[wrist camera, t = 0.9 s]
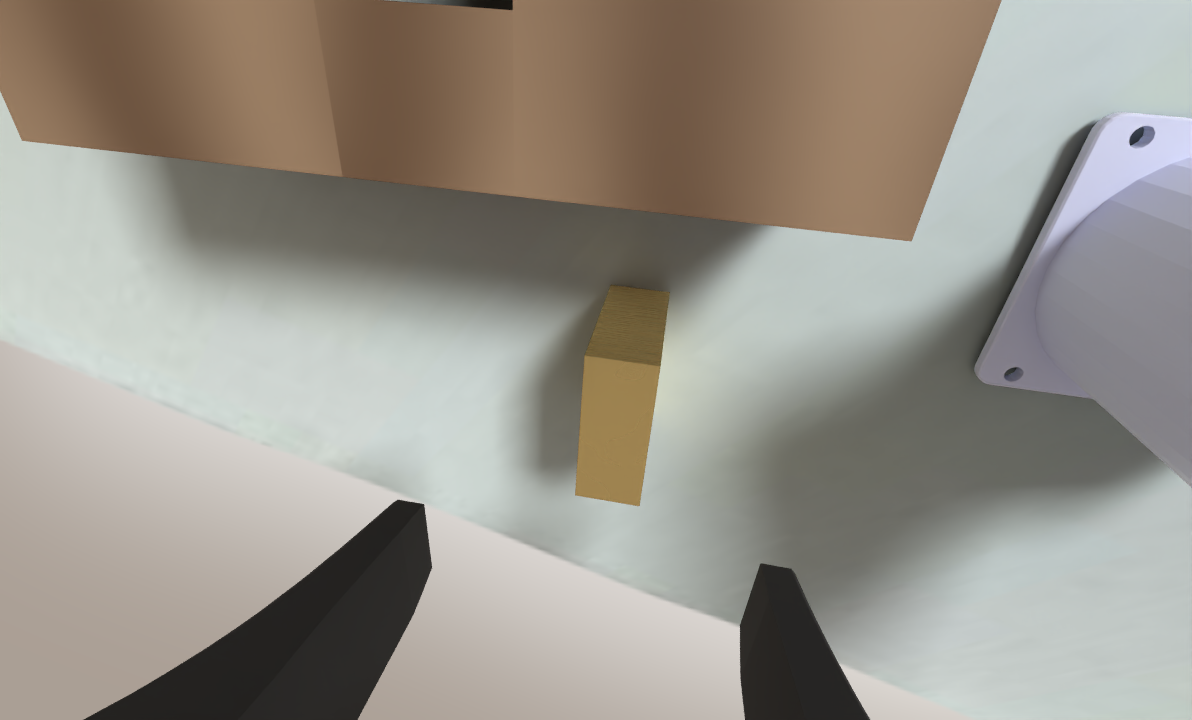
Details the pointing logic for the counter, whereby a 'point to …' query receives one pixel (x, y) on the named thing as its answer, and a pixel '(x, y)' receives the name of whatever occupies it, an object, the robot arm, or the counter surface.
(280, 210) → the counter surface
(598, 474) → the block
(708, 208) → the coin box
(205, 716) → the robot arm
